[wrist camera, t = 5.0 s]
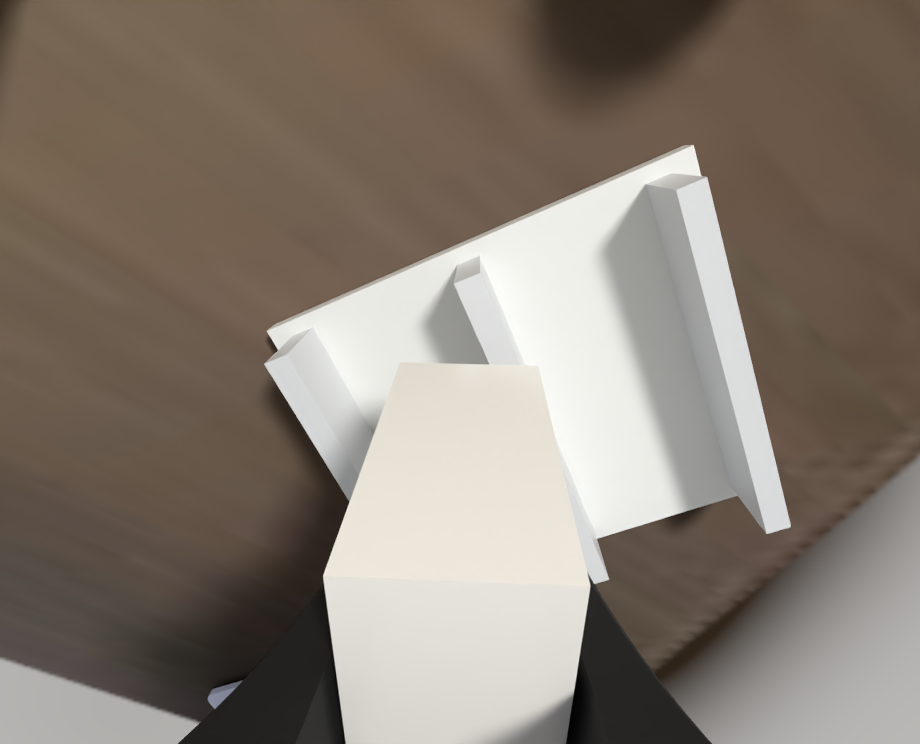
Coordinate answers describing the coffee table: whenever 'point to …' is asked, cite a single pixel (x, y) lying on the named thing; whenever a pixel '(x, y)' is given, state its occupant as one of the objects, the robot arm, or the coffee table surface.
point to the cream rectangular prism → (458, 567)
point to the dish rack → (568, 349)
